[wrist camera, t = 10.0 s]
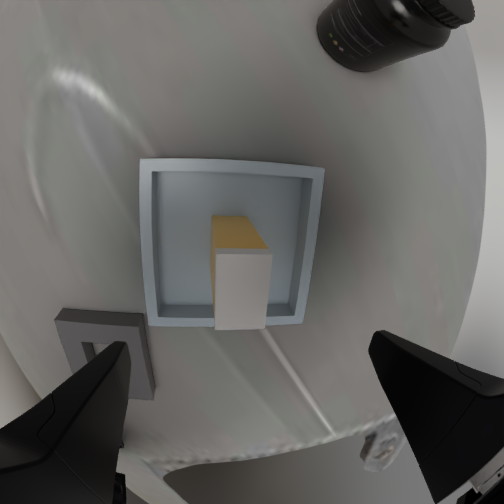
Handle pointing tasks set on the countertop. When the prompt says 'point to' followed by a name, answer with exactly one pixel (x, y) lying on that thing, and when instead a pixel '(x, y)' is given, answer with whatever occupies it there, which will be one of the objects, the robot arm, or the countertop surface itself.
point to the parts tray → (199, 232)
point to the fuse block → (106, 332)
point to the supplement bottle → (388, 29)
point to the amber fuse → (239, 274)
